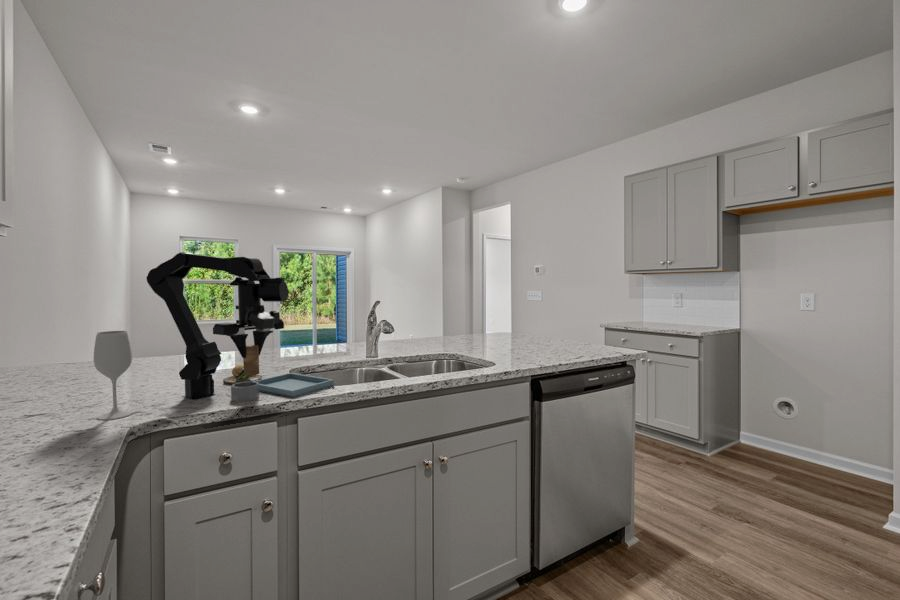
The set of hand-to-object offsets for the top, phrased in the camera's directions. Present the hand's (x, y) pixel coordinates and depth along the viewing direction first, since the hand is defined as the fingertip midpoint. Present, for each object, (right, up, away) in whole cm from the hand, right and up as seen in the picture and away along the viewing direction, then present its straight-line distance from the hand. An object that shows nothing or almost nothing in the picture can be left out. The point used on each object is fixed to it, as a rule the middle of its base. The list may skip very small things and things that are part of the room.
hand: (251, 356), depth 125 cm
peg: (0, -5, 0) cm, 5 cm away
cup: (-1, -12, -1) cm, 12 cm away
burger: (-12, -12, +20) cm, 26 cm away
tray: (+7, -12, +12) cm, 18 cm away
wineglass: (-28, -13, -14) cm, 34 cm away
